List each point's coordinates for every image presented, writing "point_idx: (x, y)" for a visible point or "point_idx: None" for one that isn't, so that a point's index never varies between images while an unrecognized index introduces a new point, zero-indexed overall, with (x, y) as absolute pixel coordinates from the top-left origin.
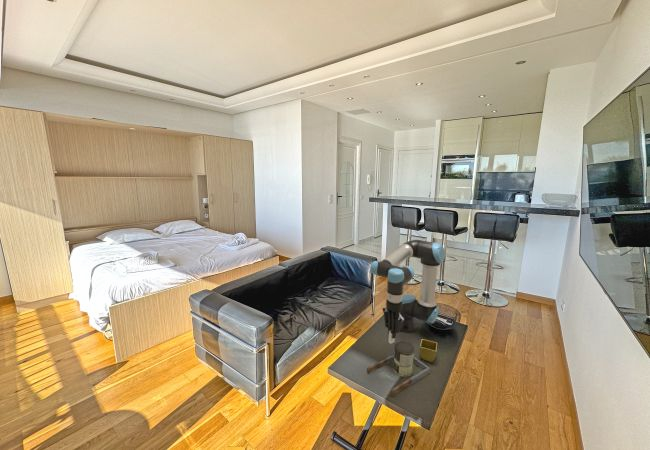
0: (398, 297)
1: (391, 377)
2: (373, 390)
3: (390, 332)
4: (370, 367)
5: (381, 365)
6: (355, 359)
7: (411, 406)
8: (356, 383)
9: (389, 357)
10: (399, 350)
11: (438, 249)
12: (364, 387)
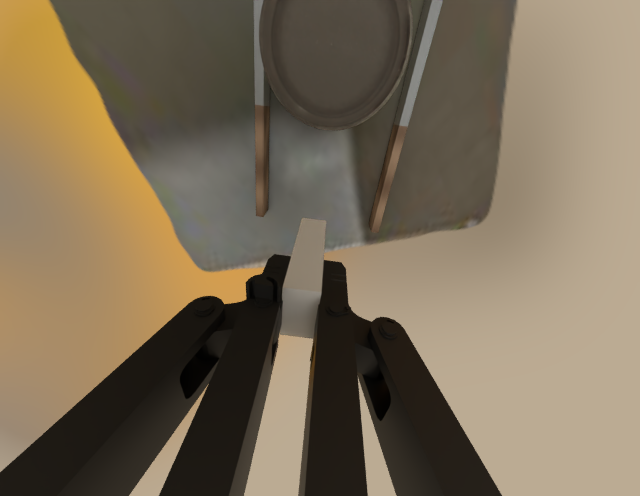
0: None
1: (328, 156)
2: None
3: (301, 330)
4: (260, 205)
5: (267, 142)
6: (188, 190)
7: (436, 208)
8: None
9: (259, 80)
10: (328, 114)
11: None
12: None
